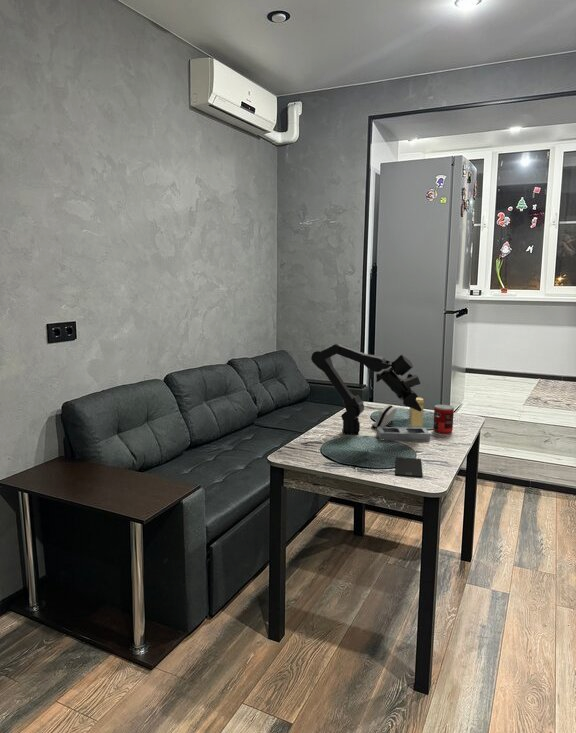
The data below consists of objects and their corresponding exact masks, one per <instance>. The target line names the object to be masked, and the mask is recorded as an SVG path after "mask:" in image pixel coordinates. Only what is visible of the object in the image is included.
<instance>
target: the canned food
mask: <svg viewBox="0 0 576 733" xmlns="http://www.w3.org/2000/svg"><path fill="white" fill-rule="evenodd" d="M454 409H455V408H454V406H453V405H449V404H435V405H434V409H433V432H434V433H437V434H442V435H443V434H444V435H449V434H452V432H453V429H454V415H455V414H454V413H455V412H454V411H455V410H454Z"/></svg>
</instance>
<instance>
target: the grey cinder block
mask: <svg viewBox="0 0 576 733" xmlns="http://www.w3.org/2000/svg"><path fill="white" fill-rule="evenodd" d="M376 436H377V437H378V438H380V439H384V440H383V441H389V440H393V442H394V441H399V442H400V441H402V442H405V441H406V442H431V432H429V430H428V429H427V428H426V427H402V426H401V427H397V426H396V427H393V426H391V427H388V426H385V427H379V426H378V427H376ZM380 439H379V440H380Z"/></svg>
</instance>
